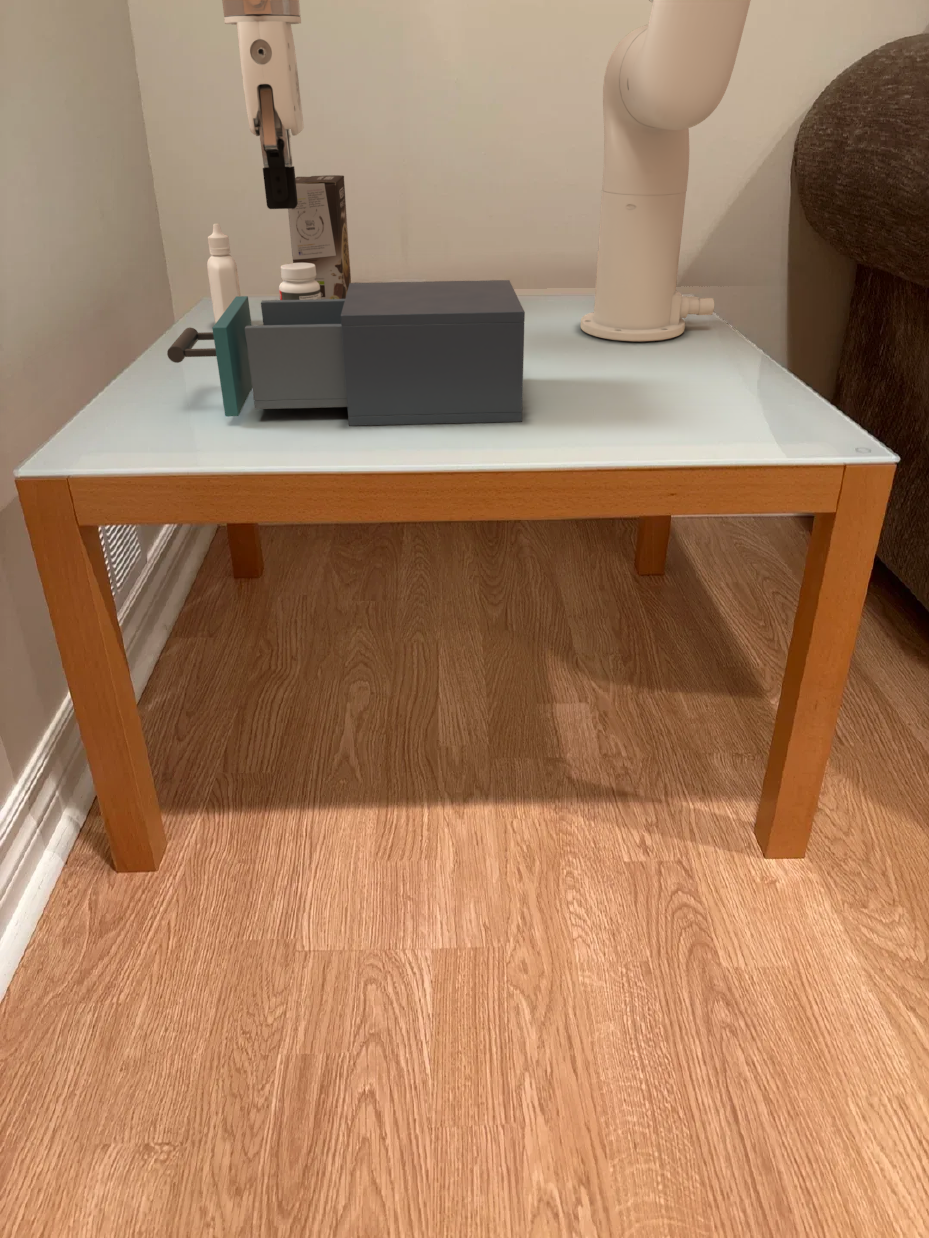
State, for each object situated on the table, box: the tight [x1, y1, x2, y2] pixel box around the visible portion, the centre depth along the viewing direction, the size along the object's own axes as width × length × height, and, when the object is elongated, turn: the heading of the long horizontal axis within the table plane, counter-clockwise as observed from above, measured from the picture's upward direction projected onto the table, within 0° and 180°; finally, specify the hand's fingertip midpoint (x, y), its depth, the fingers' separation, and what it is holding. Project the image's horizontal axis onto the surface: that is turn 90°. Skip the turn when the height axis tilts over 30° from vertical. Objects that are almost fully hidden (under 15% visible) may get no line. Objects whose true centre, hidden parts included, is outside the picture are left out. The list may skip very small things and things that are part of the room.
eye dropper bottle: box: [206, 223, 242, 325], centre depth 113 cm, size 4×6×12 cm
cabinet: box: [341, 279, 526, 427], centre depth 87 cm, size 16×14×10 cm
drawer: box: [166, 295, 348, 417], centre depth 86 cm, size 20×13×8 cm, turn 93°
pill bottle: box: [278, 262, 321, 300], centre depth 108 cm, size 5×5×8 cm
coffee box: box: [287, 174, 352, 299], centre depth 119 cm, size 9×6×16 cm
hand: (282, 207), depth 100 cm, fingers closed
